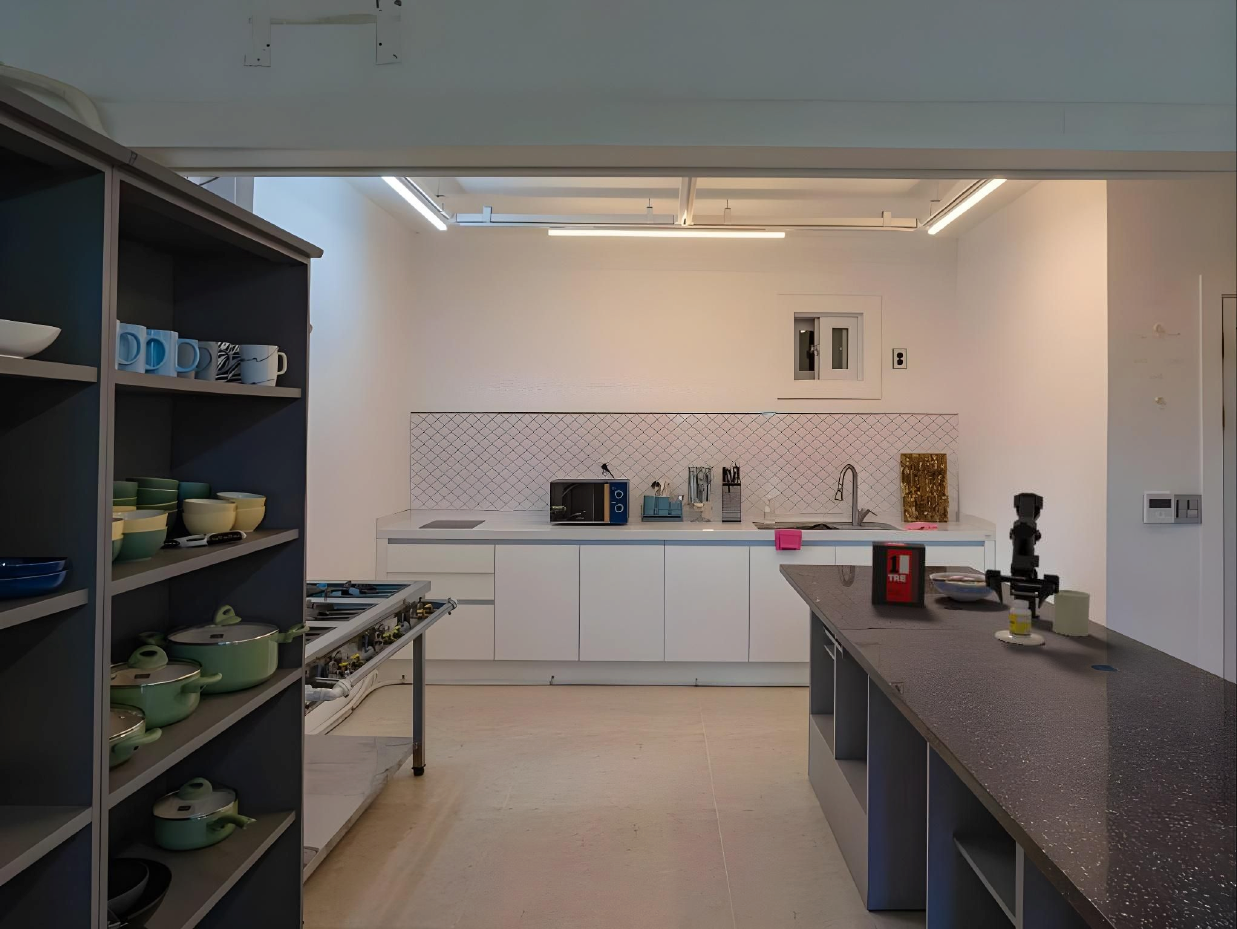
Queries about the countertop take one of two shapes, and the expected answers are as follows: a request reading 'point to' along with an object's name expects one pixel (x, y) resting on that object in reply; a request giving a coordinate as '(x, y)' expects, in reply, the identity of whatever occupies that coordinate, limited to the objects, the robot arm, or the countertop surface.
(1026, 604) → the supplement bottle
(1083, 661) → the countertop surface
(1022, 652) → the countertop surface
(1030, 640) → the coaster
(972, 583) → the ramen bowl
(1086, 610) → the can
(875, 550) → the cleaning product box
